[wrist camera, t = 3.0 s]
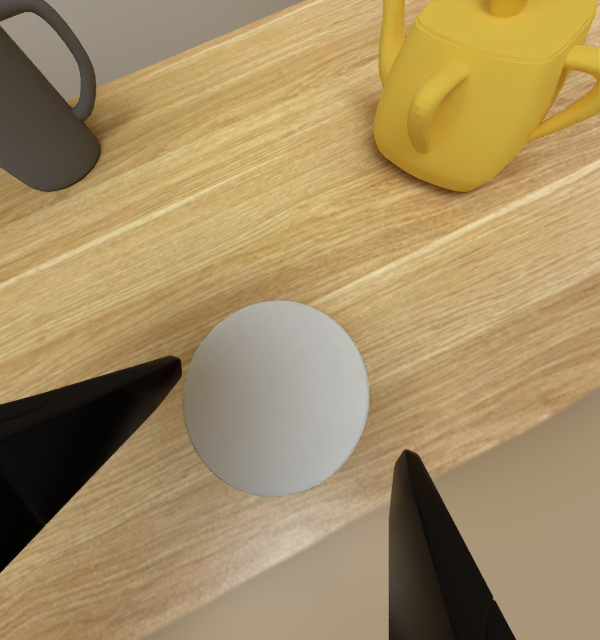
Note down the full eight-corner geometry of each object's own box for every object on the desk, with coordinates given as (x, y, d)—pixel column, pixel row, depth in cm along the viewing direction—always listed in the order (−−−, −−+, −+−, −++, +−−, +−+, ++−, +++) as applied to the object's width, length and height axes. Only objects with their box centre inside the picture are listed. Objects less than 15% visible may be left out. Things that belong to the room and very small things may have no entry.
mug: (29, 206, 26) (-204, 54, 14) (19, 153, 29) (-181, -9, 17) (148, 151, 27) (17, -34, 15) (128, 104, 30) (5, -80, 18)
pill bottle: (275, 342, 19) (209, 264, 8) (356, 362, 18) (406, 303, 7) (250, 427, 17) (122, 474, 6) (338, 454, 16) (366, 568, 5)
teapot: (363, 212, 21) (396, 57, 12) (353, 110, 25) (371, -69, 16) (532, 200, 20) (726, 17, 11) (494, 96, 24) (609, -109, 14)
